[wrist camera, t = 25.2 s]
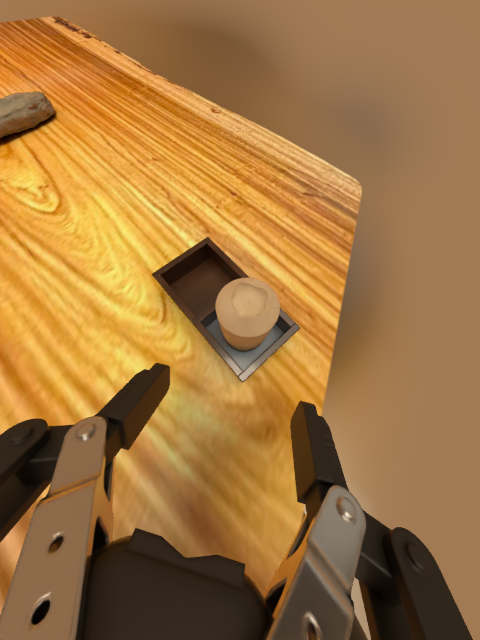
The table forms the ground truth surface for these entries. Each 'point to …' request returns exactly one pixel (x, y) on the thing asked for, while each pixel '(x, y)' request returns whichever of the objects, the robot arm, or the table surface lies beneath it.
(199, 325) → the box
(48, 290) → the table surface
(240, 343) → the candle
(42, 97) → the long grey stone
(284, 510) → the table surface
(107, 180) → the table surface
